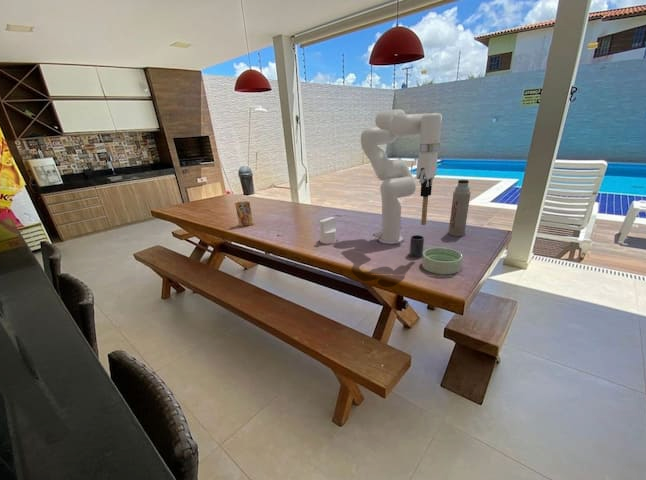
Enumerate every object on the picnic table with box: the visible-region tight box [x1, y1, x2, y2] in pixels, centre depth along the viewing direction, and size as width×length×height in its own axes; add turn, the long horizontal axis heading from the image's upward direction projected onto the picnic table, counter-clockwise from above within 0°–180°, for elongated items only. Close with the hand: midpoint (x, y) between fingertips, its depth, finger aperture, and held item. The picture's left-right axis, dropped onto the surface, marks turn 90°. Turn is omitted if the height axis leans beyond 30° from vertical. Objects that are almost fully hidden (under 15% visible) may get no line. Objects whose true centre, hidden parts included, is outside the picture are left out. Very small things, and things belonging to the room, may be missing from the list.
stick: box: [420, 183, 429, 226], centre depth 129 cm, size 2×2×18 cm
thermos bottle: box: [448, 179, 471, 237], centre depth 158 cm, size 8×8×28 cm
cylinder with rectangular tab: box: [318, 216, 338, 245], centre depth 163 cm, size 9×9×12 cm
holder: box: [409, 234, 425, 258], centre depth 140 cm, size 6×6×9 cm
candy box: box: [234, 199, 254, 227], centre depth 197 cm, size 9×4×15 cm, turn 103°
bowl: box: [421, 246, 464, 275], centre depth 128 cm, size 15×15×6 cm
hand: (425, 195), depth 127 cm, fingers closed on stick, 2 cm apart
